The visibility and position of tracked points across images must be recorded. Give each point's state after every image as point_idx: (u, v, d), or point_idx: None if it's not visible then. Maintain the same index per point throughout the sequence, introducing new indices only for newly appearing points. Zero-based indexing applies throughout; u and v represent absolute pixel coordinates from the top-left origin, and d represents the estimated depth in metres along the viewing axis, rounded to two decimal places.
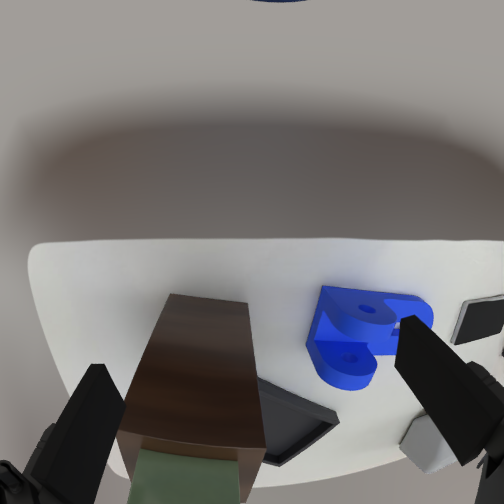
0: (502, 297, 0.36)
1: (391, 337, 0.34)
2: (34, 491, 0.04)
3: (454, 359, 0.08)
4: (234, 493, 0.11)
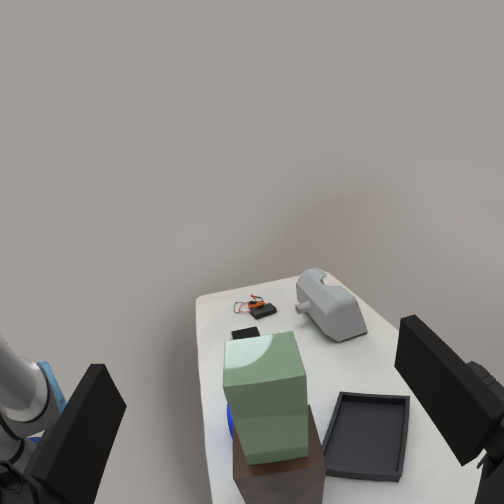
0: None
1: None
2: (34, 491, 0.04)
3: (454, 358, 0.08)
4: None
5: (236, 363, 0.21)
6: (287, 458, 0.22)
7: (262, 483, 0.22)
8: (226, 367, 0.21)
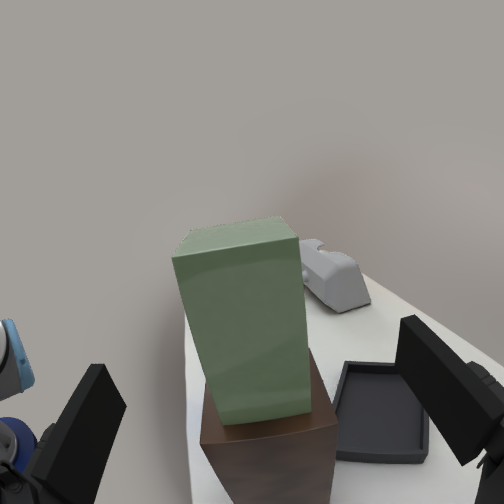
0: None
1: None
2: (34, 491, 0.04)
3: (454, 358, 0.08)
4: None
5: (197, 240, 0.16)
6: (280, 414, 0.17)
7: (245, 456, 0.16)
8: (182, 244, 0.15)
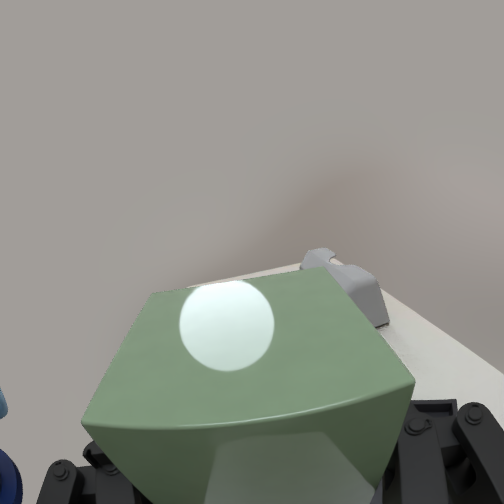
0: None
1: None
2: None
3: None
4: None
5: (153, 346, 0.06)
6: None
7: None
8: (119, 357, 0.06)
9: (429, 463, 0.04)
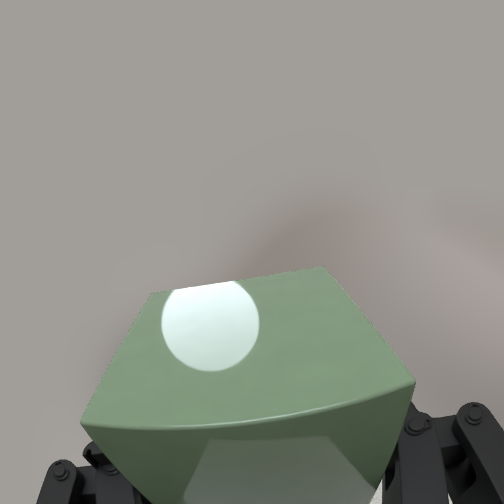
0: None
1: None
2: None
3: None
4: None
5: (152, 345, 0.06)
6: None
7: None
8: (119, 356, 0.06)
9: (429, 464, 0.04)
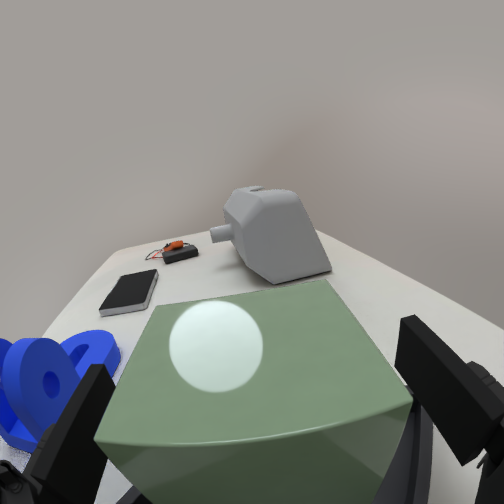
0: (115, 284, 0.48)
1: (79, 363, 0.23)
2: (34, 491, 0.04)
3: (454, 359, 0.08)
4: None
5: (160, 362, 0.06)
6: None
7: None
8: (127, 373, 0.06)
9: None
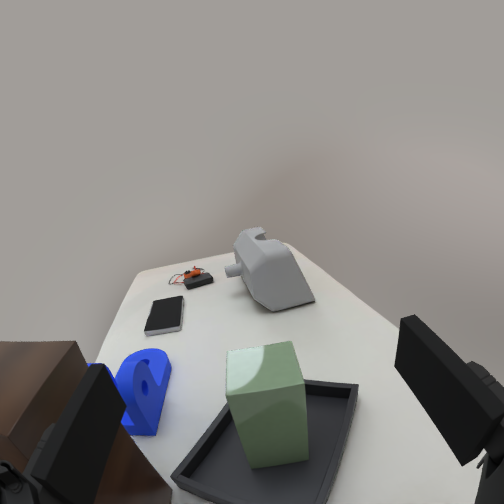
0: None
1: None
2: (34, 491, 0.04)
3: (454, 359, 0.08)
4: None
5: (237, 372, 0.22)
6: (288, 461, 0.23)
7: None
8: (228, 377, 0.22)
9: None
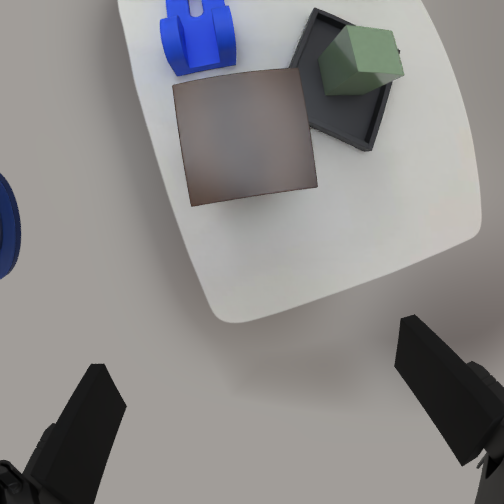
0: None
1: (204, 3, 0.29)
2: (34, 491, 0.04)
3: (454, 359, 0.08)
4: (322, 54, 0.31)
5: (361, 51, 0.23)
6: (351, 94, 0.35)
7: None
8: (355, 53, 0.23)
9: None
